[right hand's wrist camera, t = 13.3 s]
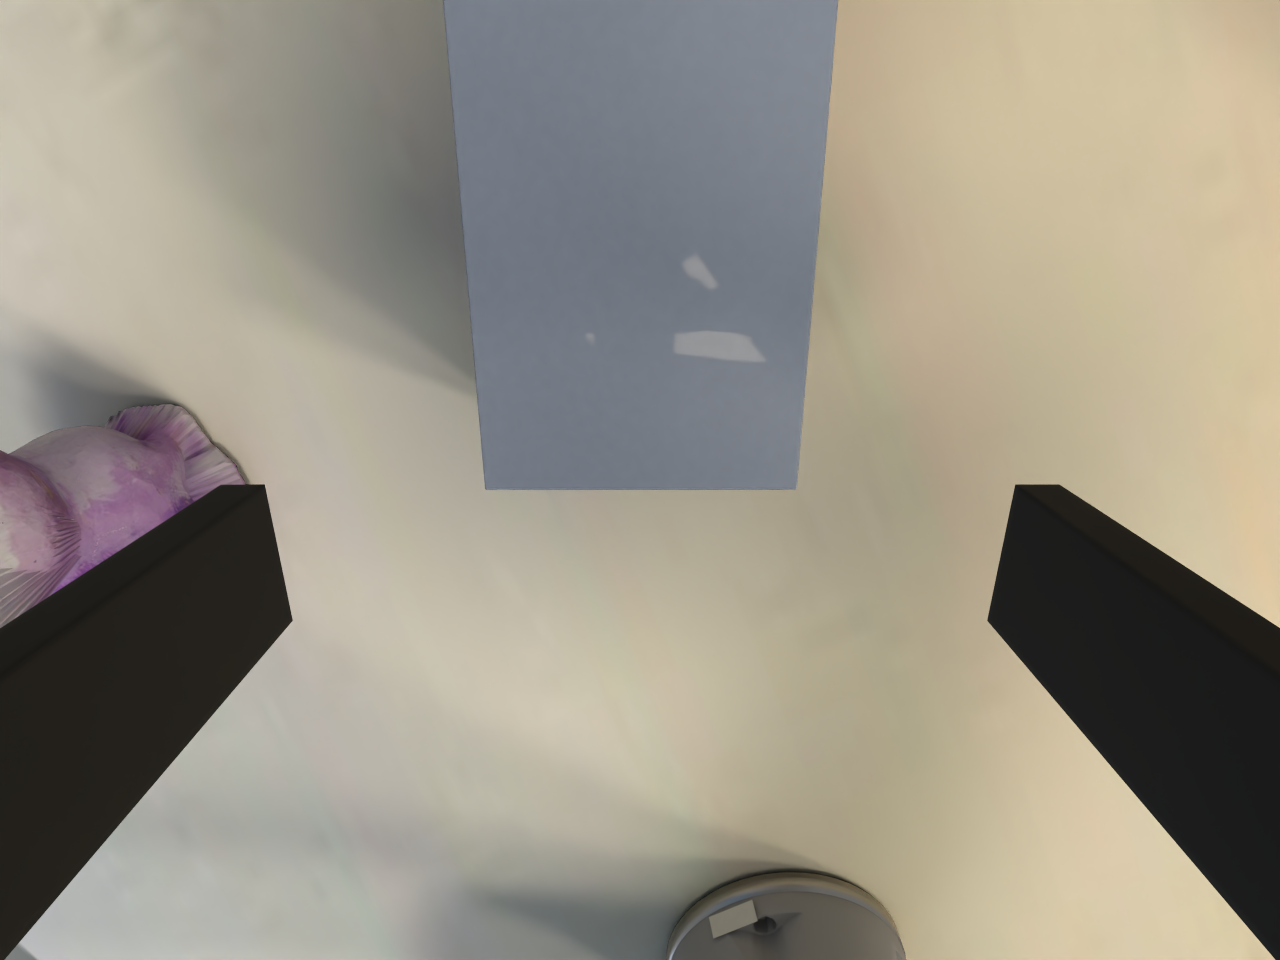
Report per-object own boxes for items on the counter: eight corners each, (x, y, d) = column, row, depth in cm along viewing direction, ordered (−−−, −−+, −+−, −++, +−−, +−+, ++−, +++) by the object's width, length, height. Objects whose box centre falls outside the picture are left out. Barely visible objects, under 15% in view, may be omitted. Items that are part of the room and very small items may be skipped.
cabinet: (489, -166, 25) (411, -362, 17) (791, -167, 25) (870, -362, 17) (525, 418, 33) (484, 490, 24) (756, 418, 33) (797, 490, 24)
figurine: (113, 350, 32) (-304, 459, 18) (309, 487, 34) (78, 680, 20) (26, 495, 34) (-399, 692, 20) (214, 614, 37) (-50, 863, 23)
